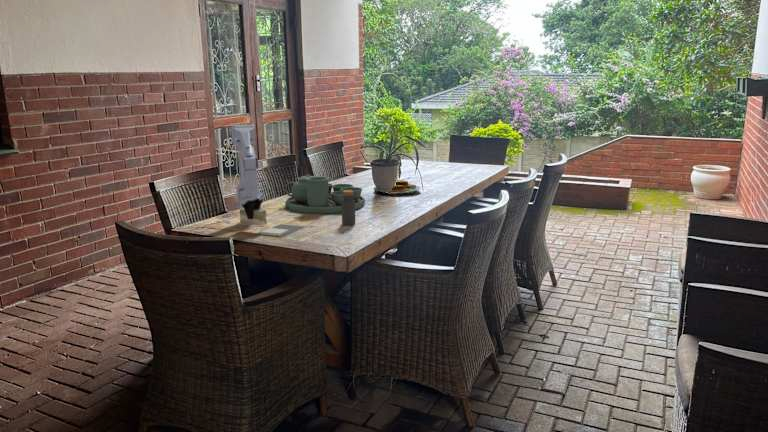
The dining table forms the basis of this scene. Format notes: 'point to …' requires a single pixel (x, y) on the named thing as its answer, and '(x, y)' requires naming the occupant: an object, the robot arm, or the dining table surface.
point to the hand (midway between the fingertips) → (252, 217)
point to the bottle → (348, 208)
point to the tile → (274, 232)
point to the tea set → (319, 195)
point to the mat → (287, 227)
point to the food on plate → (403, 187)
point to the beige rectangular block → (258, 217)
